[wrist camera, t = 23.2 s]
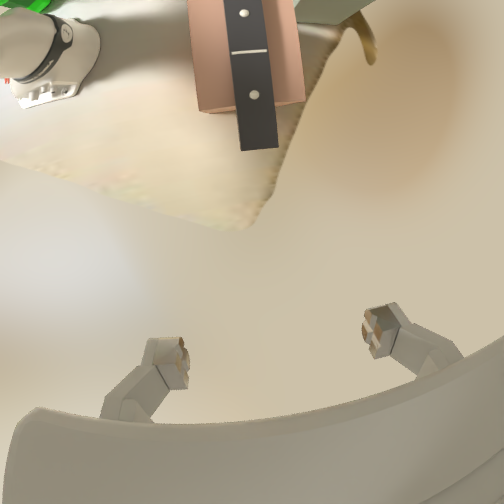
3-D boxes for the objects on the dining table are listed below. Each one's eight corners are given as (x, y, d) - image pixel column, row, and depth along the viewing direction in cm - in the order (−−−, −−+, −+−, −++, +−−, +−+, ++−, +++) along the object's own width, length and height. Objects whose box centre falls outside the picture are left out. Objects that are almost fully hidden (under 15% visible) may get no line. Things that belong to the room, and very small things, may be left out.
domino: (240, 149, 29) (241, 151, 28) (220, -18, 19) (220, -25, 17) (275, 145, 29) (278, 147, 28) (255, -20, 19) (257, -27, 17)
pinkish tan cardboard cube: (209, 113, 43) (199, 111, 27) (200, 33, 35) (186, -7, 19) (278, 106, 43) (306, 101, 27) (268, 26, 35) (290, -14, 20)
